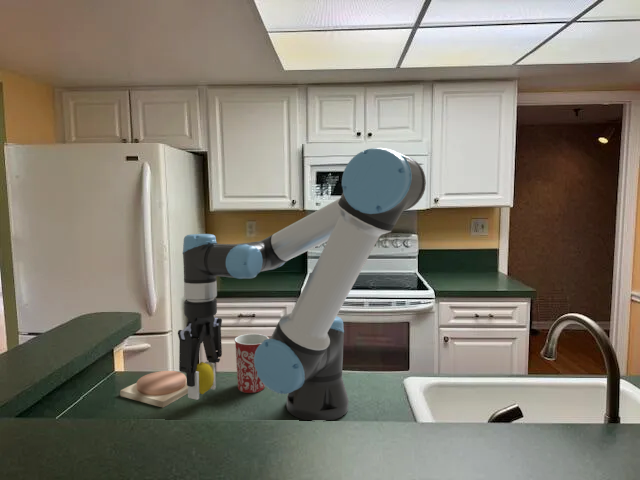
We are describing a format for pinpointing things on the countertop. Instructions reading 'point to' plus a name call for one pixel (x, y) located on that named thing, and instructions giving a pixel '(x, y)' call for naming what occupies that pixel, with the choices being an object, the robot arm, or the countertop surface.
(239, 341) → the mug
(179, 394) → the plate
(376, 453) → the countertop surface
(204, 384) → the lemon
